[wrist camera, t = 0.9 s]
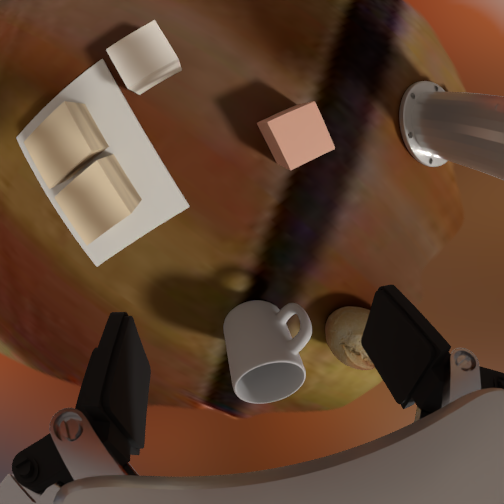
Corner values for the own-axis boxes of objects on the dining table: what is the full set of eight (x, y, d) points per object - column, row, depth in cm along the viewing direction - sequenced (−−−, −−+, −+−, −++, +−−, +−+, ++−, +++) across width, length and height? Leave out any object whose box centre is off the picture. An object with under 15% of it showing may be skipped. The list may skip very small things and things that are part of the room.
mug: (256, 351, 40) (272, 409, 31) (210, 330, 37) (217, 393, 27) (310, 299, 37) (343, 353, 28) (267, 269, 34) (293, 327, 24)
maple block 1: (84, 103, 21) (64, 101, 17) (109, 146, 24) (91, 151, 19) (47, 137, 21) (23, 142, 17) (70, 178, 24) (49, 189, 20)
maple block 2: (113, 154, 24) (97, 160, 20) (142, 199, 27) (131, 213, 23) (74, 185, 25) (54, 197, 20) (102, 227, 27) (86, 245, 23)
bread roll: (363, 351, 46) (382, 381, 39) (305, 337, 41) (323, 374, 34) (395, 313, 43) (419, 341, 36) (341, 289, 38) (368, 323, 31)
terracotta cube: (296, 104, 26) (314, 101, 21) (315, 144, 28) (335, 148, 24) (256, 122, 26) (267, 122, 22) (276, 163, 28) (290, 170, 24)
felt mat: (103, 59, 20) (102, 58, 19) (189, 206, 29) (189, 206, 28) (17, 137, 20) (16, 137, 20) (97, 265, 30) (96, 266, 29)
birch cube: (161, 36, 20) (154, 20, 16) (182, 70, 22) (178, 58, 18) (120, 60, 20) (105, 49, 16) (139, 94, 23) (127, 88, 18)
